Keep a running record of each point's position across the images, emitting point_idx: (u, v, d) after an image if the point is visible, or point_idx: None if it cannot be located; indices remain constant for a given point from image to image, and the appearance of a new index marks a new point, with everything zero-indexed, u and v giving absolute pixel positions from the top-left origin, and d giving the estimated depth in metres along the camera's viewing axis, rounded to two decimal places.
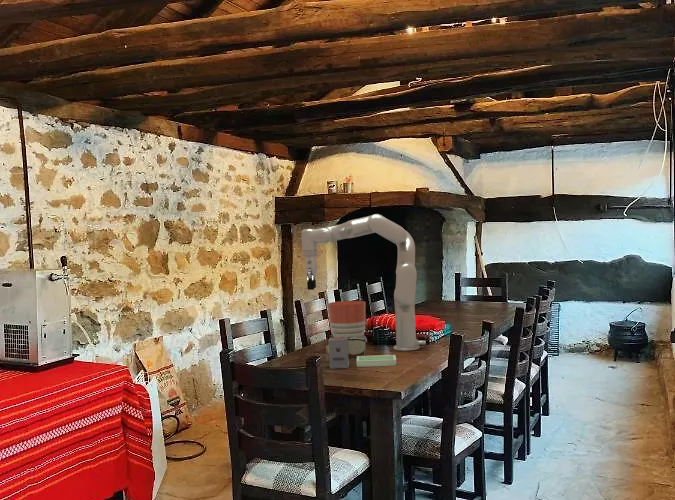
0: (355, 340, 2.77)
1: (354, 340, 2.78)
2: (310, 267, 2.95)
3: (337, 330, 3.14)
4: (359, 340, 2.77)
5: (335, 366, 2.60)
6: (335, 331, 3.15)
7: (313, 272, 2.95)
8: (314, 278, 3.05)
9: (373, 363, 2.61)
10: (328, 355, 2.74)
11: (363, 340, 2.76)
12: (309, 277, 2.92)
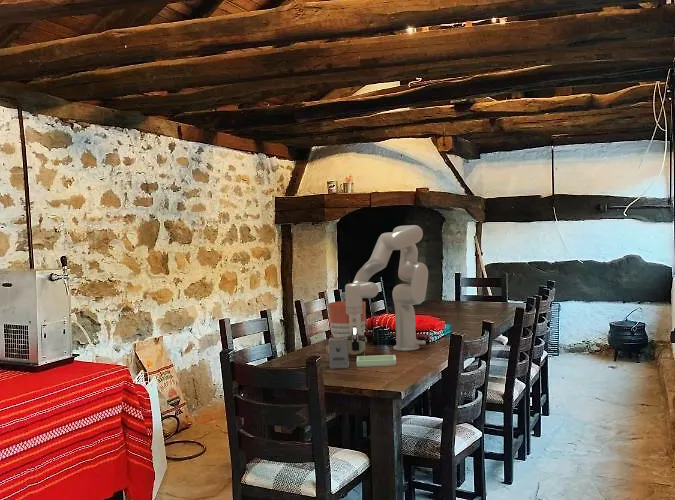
0: None
1: None
2: (355, 325, 2.75)
3: (337, 330, 3.14)
4: (359, 340, 2.77)
5: (335, 366, 2.60)
6: (335, 331, 3.15)
7: (358, 331, 2.75)
8: None
9: (373, 363, 2.61)
10: (328, 355, 2.74)
11: (363, 340, 2.76)
12: (354, 338, 2.74)
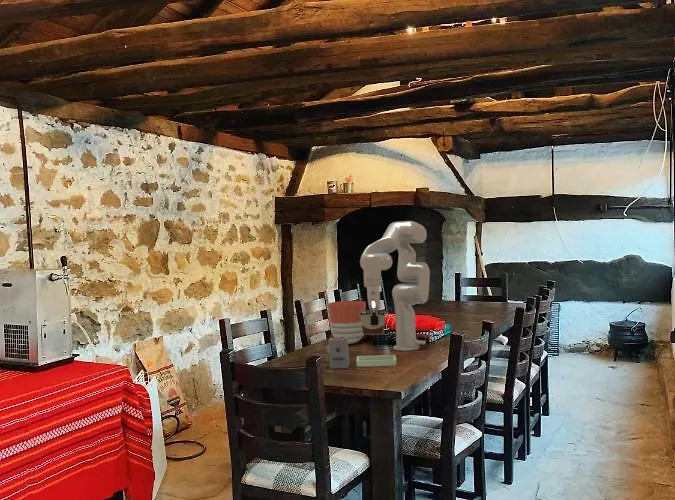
0: None
1: None
2: (374, 298, 2.61)
3: (337, 330, 3.14)
4: (378, 314, 2.62)
5: (335, 366, 2.60)
6: (335, 331, 3.15)
7: (377, 304, 2.61)
8: None
9: (373, 363, 2.61)
10: (328, 355, 2.74)
11: (382, 314, 2.62)
12: (373, 311, 2.59)
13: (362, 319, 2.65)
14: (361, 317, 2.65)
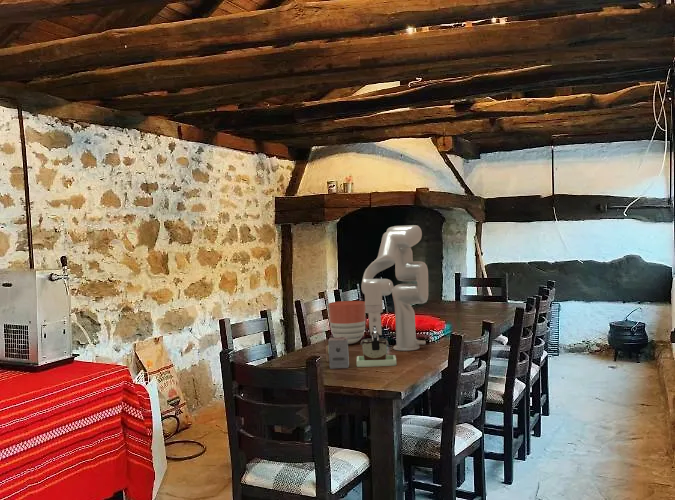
0: None
1: None
2: (375, 325, 2.61)
3: (337, 330, 3.14)
4: (380, 343, 2.63)
5: (335, 366, 2.60)
6: (335, 331, 3.15)
7: (378, 330, 2.61)
8: None
9: (373, 363, 2.61)
10: (328, 355, 2.74)
11: (384, 343, 2.63)
12: (375, 337, 2.58)
13: (364, 348, 2.65)
14: (363, 346, 2.65)
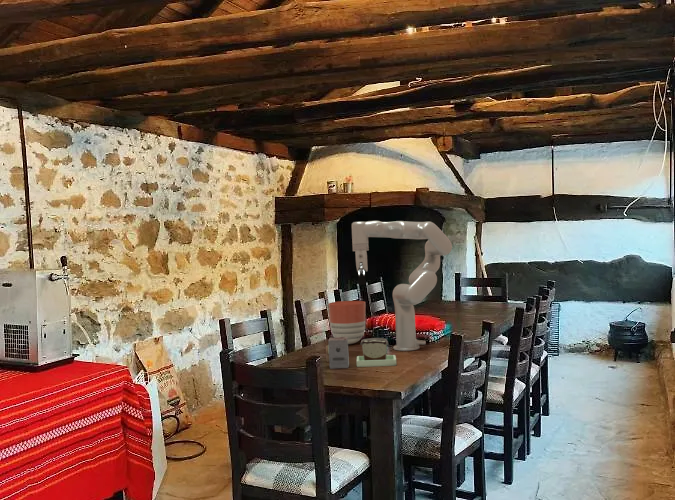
0: (376, 343, 2.64)
1: (375, 343, 2.64)
2: (361, 261, 2.84)
3: (337, 330, 3.14)
4: (380, 343, 2.63)
5: (335, 366, 2.60)
6: (335, 331, 3.15)
7: (364, 266, 2.84)
8: (364, 273, 2.93)
9: (373, 363, 2.61)
10: (328, 355, 2.74)
11: (384, 343, 2.63)
12: (361, 272, 2.81)
13: (364, 348, 2.65)
14: (363, 346, 2.65)
